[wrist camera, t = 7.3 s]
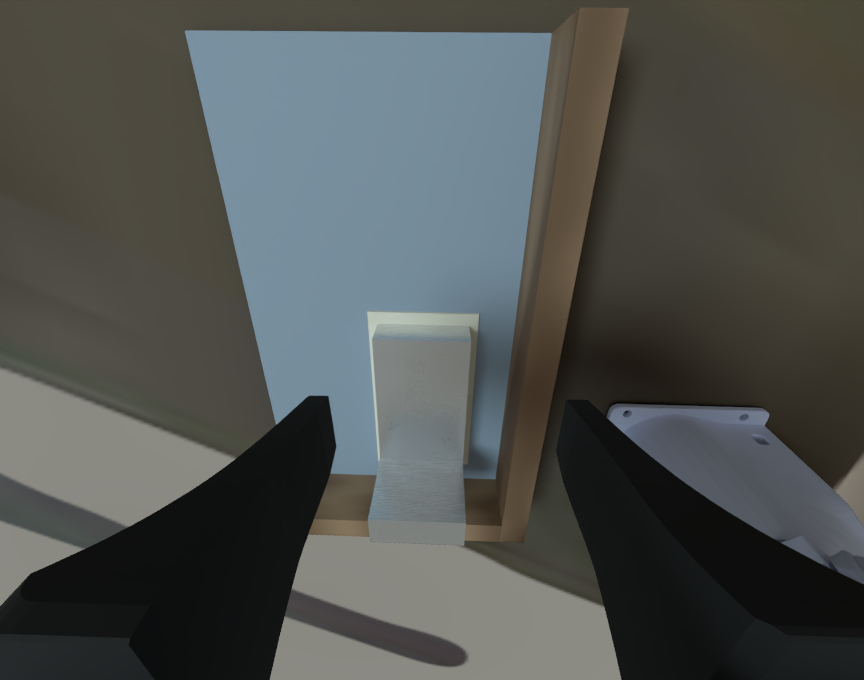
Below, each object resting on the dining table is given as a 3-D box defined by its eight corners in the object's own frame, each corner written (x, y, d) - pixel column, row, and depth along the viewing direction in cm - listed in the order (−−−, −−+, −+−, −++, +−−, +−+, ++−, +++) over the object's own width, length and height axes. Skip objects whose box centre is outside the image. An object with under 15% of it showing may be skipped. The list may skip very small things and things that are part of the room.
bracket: (460, 460, 26) (463, 545, 21) (385, 458, 26) (370, 542, 21) (469, 326, 21) (476, 391, 16) (377, 323, 21) (354, 387, 16)
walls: (587, 35, 15) (628, 7, 12) (514, 490, 28) (523, 542, 24) (190, 32, 16) (117, 5, 12) (292, 482, 28) (270, 532, 25)
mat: (587, 35, 15) (592, 32, 15) (514, 490, 28) (515, 497, 27) (190, 32, 16) (182, 29, 15) (292, 482, 28) (289, 488, 28)
